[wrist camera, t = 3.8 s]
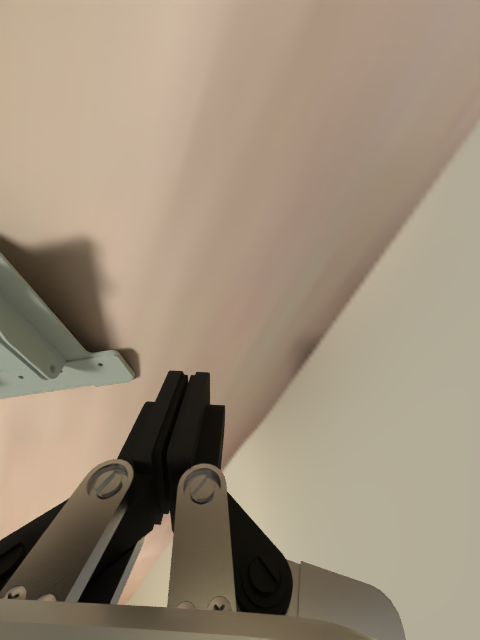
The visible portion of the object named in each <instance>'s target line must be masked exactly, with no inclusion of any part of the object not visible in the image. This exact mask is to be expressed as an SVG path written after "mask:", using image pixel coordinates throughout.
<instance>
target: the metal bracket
mask: <svg viewBox="0 0 480 640" xmlns="http://www.w3.org/2000/svg"><path fill="white" fill-rule="evenodd" d="M99 363H101V364H99ZM61 370H62V371H61ZM134 378H135V373H134V372H133V371H132V369H131V368H130V367H129V365H128V364H127V363H126V361H125V360H124V359H123V357H122V356H121V355H120V353H119V352H118V351H116V350H108V351H102V352H96V353H90V352H88V351H86V350H85V349H84V348H83V346H82V345H81V344H80V343H79V342H78V341H77V340H76V338H75V337H74V336H73V335H72V334H71V333H70V331H69V330H68V329H67V328H66V327H65V326H64V325H63V323H62V322H61V321H60V320H59V319H58V318H57V317H56V315H55V314H54V313H53V312H52V311H51V310H50V308H49V307H48V306H47V305H46V304H45V303H44V302H43V300H42V299H41V298H40V297H39V296H38V295H37V294H36V292H35V291H34V290H33V289H32V288H31V287H30V285H29V284H28V283H27V282H26V281H25V280H24V279H23V277H22V276H21V275H20V274H19V273H18V272H17V271H16V269H15V268H14V267H13V266H12V265H11V264H10V262H9V261H8V260H7V259H6V258H5V257H4V256H3V254H2V253H1V252H0V399H2V398H9V397H16V396H22V395H29V394H36V393H43V392H49V391H56V390H63V389H69V388H76V387H83V386H90V385H95V386H96V387H98V386H104V385H112V384H119V383H126V382H129V381H131V380H133V379H134Z"/></svg>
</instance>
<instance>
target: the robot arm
mask: <svg viewBox="0 0 480 640" xmlns="http://www.w3.org/2000/svg"><path fill="white" fill-rule="evenodd" d="M224 425H225V405H210V373H208V372H196V374H195V375H191V376H190V380H189V383H188V375H184V373H183V371H169V372H168V374H167V376H166V379H165V381H164V383H163V385H162V388H161V390H160V392H159V394H158V396H157V399H156V401H155V402H146V403H145V404H144V406H143V408H142V410H141V412H140V414H139V416H138V418H137V420H136V422H135V424H134V426H133V428H132V430H131V432H130V434H129V436H128V438H127V440H126V442H125V444H124V446H123V448H122V450H121V452H120V454H119V456H118V458H117V459H113V460H108V461H105V462H103V463H101V464H99V465H98V466H96V467H95V468H93V469H92V470H91V471H90V472H89V473H88V474H87V475H86V477H85V478H84V479H83V481H82V482H81V483H80V485H79V486H78V488H77V489H76V490H75V492H74V493H73V494H72V496H71V497H70V498H69V499H67V500H66V501H64V502H63V503H61V504H59V505H58V506H56V507H54V508H53V509H51V510H49V511H48V512H46V513H44V514H43V515H41V516H40V517H38V518H36V519H35V520H33V521H31V522H30V523H28V524H26V525H25V526H23V527H21V528H20V529H18V530H17V531H15V532H13V533H12V534H10V535H8V536H7V537H5V538H3V539H2V540H1V541H0V640H406V639H405V634H404V629H403V625H402V622H401V619H400V616H399V614H398V612H397V610H396V608H395V607H394V605H393V604H392V602H391V600H390V599H389V598H387V596H386V595H385V594H384V593H383V592H381V591H380V590H379V589H377V588H375V587H374V586H372V585H369V584H366V583H363V582H361V581H358V580H355V579H352V578H349V577H346V576H343V575H340V574H337V573H335V572H331V571H328V570H326V569H323V568H320V567H317V566H314V565H311V564H308V563H306V562H303V561H301V563H300V564H298V563H295V562H292V561H290V560H287V559H285V557H284V556H283V554H282V553H281V552H280V551H279V550H278V549H277V547H276V546H275V545H274V544H273V543H272V542H271V541H270V539H269V538H268V537H267V536H266V535H265V534H264V533H263V532H262V530H261V529H260V528H259V527H258V526H257V525H256V524H255V522H254V521H253V520H252V519H251V518H250V517H249V516H248V515H247V513H246V512H245V511H244V510H243V509H242V508H241V507H240V505H239V504H238V503H237V502H236V501H235V500H234V499H233V498H232V496H231V495H230V494H229V493H228V492H227V487H226V480H225V476H224V475H223V473H222V472H221V460H222V450H223V439H224ZM169 511H170V514H171V523H172V531H173V533H174V535H173V547H172V558H171V571H170V581H169V593H168V604H167V607H150V606H131V605H117V603H118V601H119V599H120V596H121V594H122V592H123V589H124V587H125V585H126V582H127V580H128V578H129V575H130V573H131V571H132V568H133V566H134V564H135V561H136V559H137V557H138V554H139V552H140V550H141V547H142V545H143V541H144V537H145V535H147V534H148V533H149V532H150V531H152V530H153V527H154V524H158V525H161V521H162V517H163V514H168V513H169Z"/></svg>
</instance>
